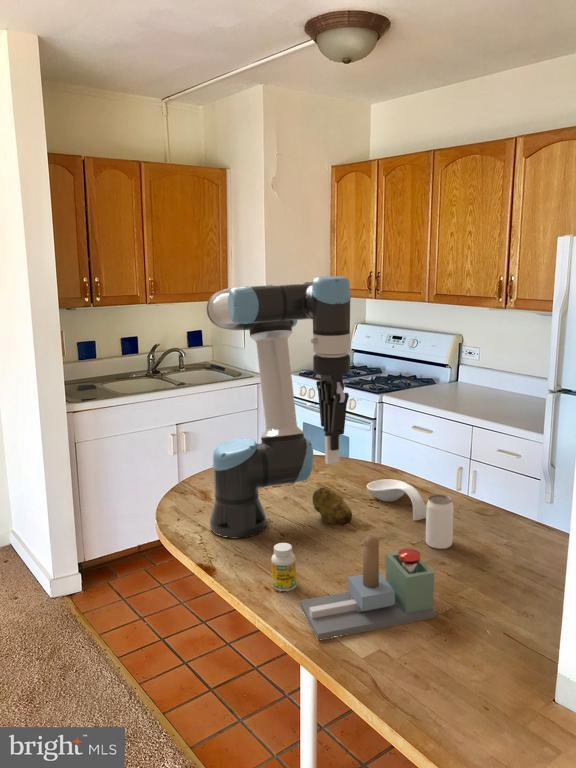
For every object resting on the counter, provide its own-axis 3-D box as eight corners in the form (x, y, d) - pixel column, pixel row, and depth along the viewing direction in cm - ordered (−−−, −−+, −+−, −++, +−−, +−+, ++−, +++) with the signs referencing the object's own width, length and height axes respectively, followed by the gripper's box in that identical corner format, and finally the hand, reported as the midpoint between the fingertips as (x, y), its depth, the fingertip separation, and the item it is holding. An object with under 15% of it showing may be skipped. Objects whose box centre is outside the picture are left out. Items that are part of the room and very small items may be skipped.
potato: (326, 531, 167) (325, 503, 165) (309, 512, 178) (308, 485, 177) (355, 526, 169) (355, 498, 167) (336, 507, 181) (336, 481, 179)
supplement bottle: (293, 578, 144) (292, 539, 142) (298, 590, 139) (297, 550, 137) (270, 581, 143) (268, 542, 141) (275, 594, 138) (273, 554, 136)
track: (300, 607, 133) (299, 566, 131) (408, 587, 139) (409, 547, 137) (317, 640, 122) (316, 596, 120) (435, 617, 128) (436, 575, 126)
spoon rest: (359, 493, 191) (359, 471, 189) (392, 486, 195) (392, 465, 194) (404, 525, 170) (404, 500, 168) (440, 516, 174) (440, 492, 173)
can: (452, 550, 155) (454, 505, 152) (425, 548, 156) (426, 503, 153) (451, 538, 161) (453, 494, 158) (425, 536, 162) (426, 493, 159)
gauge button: (394, 589, 134) (395, 550, 132) (413, 586, 135) (414, 546, 133) (403, 600, 130) (404, 560, 128) (423, 597, 131) (424, 556, 129)
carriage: (347, 596, 133) (347, 530, 130) (378, 591, 135) (379, 525, 132) (362, 618, 126) (362, 548, 122) (394, 611, 128) (395, 542, 124)
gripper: (304, 349, 134) (306, 454, 139) (325, 361, 122) (326, 476, 127) (337, 346, 136) (338, 450, 141) (361, 358, 124) (360, 471, 129)
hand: (332, 462), depth 134 cm, fingers closed
